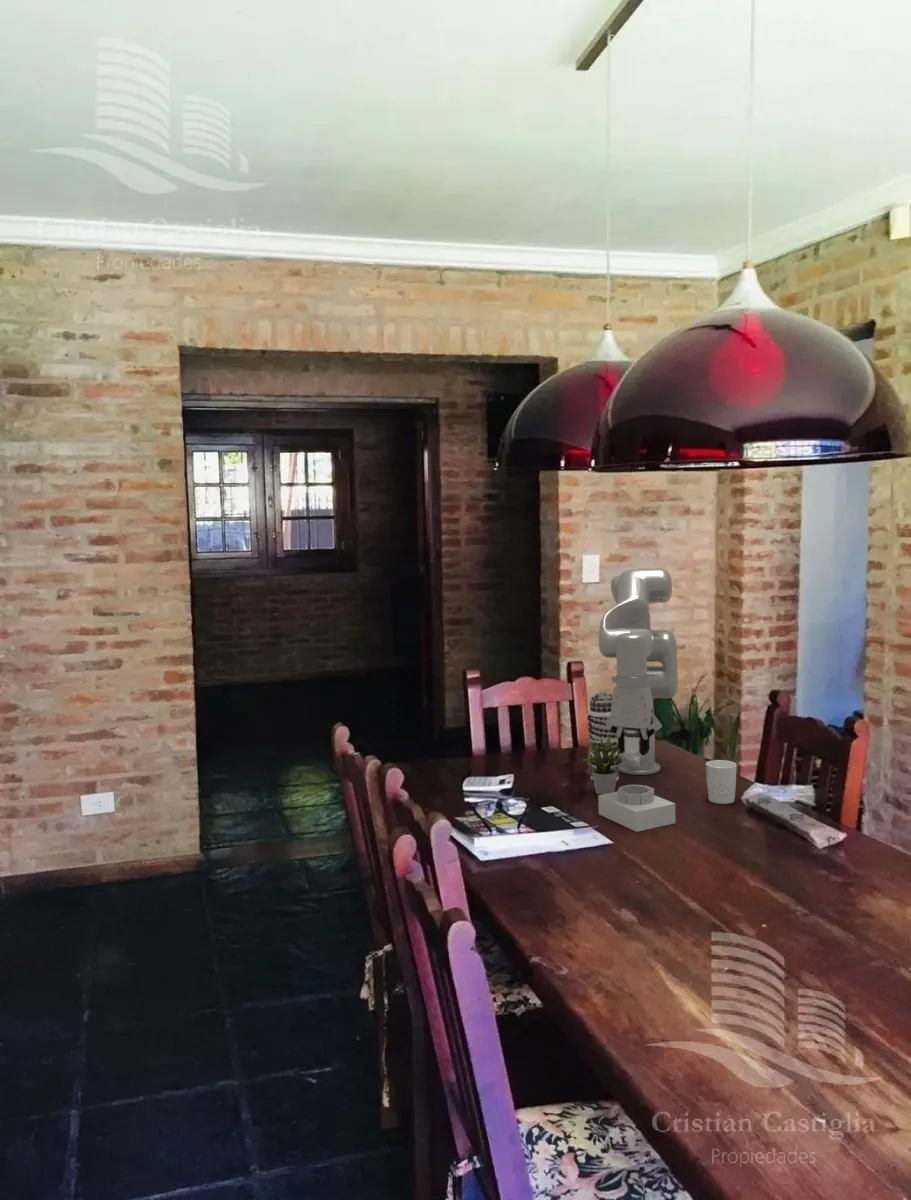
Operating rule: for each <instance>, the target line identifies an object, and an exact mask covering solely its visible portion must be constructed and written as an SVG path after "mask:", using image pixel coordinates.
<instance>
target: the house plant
mask: <svg viewBox="0 0 911 1200" xmlns="http://www.w3.org/2000/svg"><path fill="white" fill-rule="evenodd" d="M599 737H600V736H599ZM586 740H587V742H588V744H590V748H589V746H587V745H585V747H586V748H587V749H588V750H589V751H590V753H591V752H592V754H593V755H594V758H592V757H591V758H590V757H588V758H583V761H589V762H590V761H592V762H593V763H594V764H595V765H596V767H597V768H596V769H593V770H592V775H593V780H594V781H593V783H594V784H593V785H594V790H595V794H596V793H597V794H596V795H598V794H600V795H603V794H608V793H613V792H616V785H617V781H616V779H617V770H616V769H613V768H610V767H611V765H612V764H613V763H614V762H615V761H619V762H618V764H620V762H622V761H624V759H623V760H622V758H620V757H618V756H619V755H620V754H622V753H620V749H618V744H617V746H616V747H615V748H613V749H611V750H609V749H610V746H611V744H610V740H611V737H610V736H608V740H607V742H606V744H605V747H604V744H603V741H602V739H601V737H600V740H601V746H602V754H603V760H602V758H601V754H600V752H599V748H598V746H597V748H596V746H595V745H594V744H593V743H592V742H591V741H590V740H589V738H586ZM591 747H592V749H593V751H592V750H591ZM612 750H613V751H612ZM611 751H612V752H611ZM616 751H618V752H619V753H620V754H619V753H618V755H614V754H615V753H616ZM593 752H594V753H593ZM609 752H611V754H610V755H609V756H608V753H609ZM612 754H613V755H612ZM613 756H615V757H613ZM610 758H611V759H610ZM609 760H610V761H609ZM608 762H609V763H608Z"/></svg>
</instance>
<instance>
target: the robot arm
mask: <svg viewBox="0 0 911 1200" xmlns="http://www.w3.org/2000/svg"><path fill="white" fill-rule="evenodd" d="M610 591H611V594H612V598H613V600H614V602H615V605H614V606H613V607H611V608H610V609H609V610H607V612H606V613H605V614H604V615H603V617H602V618H601V620H600V623H599V629H598V630H599V631H598V650H599V651H600V654H601V655H602V656H603V657H605V658H612V659H613V658H615V659H616V675H615V676H611V682H613V683H615V685H616V686H614V687H613V690H612V706H611V715H610V716H609V717H608V719H607V720H606V721H605V724H606V725H607V726H608V727H609V728H611V730H612V731H613V732H614V733H615V734H616V736H617V737H618V741H617V745H618V750H619V753H618V754H620V753H622V754H620V755H619V757H620V758H619V759H621V760H623V759H624V744H623V728H636V729H640V730H641V733H642V736H643V737H642V738H643V739H642V740H641V755H644V764H643V765H640V766H629V765H625V764H624V761H621V762H619V763H618V764H617V765H618V766H619V770H618V771H619V772H621V773H623V774H629V775H637V776H641V775H642V776H643V775H645V776H646V775H647V776H648V775H653V774H657V773H658V772H660V771H661V765H660V764H659V763H657V762H656V755H655V754H656V752H655V751H656V749H655V748H656V744H655V743H656V742H655V741H656V740H655V733H656V732H658V730H660V729H662V728H663V725H662V723H661V721H660V720H659V719H658V718H657V717H656V715H655V709H654V701H653V699H671V698H674V697H675V696H676V695H677V693H678V687H679V686H678V685H679V677H678V673H679V672H678V646H677V645H678V644H677V639H676V636H675V634H674V633H673V632H672V631H670V630H666V629H651V613H650V604H662V603H667V602H669V601H670V599H671V598H672V594H673V593H672V592H673V581H672V577H671V574H670V572H669V571H668V570H667V569H665V568H661V567H660V568H659V567H658V568H657V567H656V568H631V569H627V570H625V571H623V572H622V573H621V574H619V575H617V576H614V577H613V578H612V579H611V580H610ZM648 663H660V664H661V665H659V666H658V665H656V666H655V665H652V666H651V665H650V666H649V665H648Z"/></svg>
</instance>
